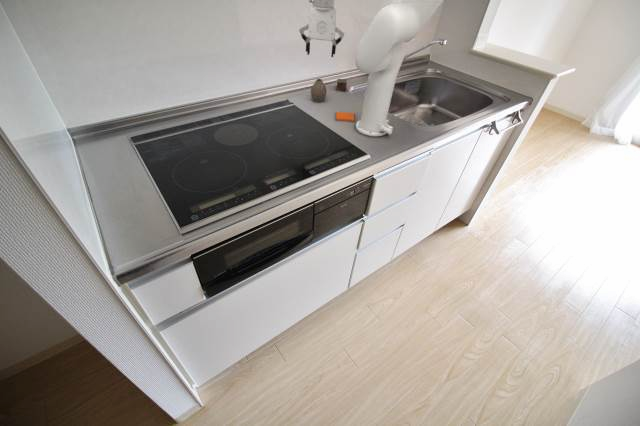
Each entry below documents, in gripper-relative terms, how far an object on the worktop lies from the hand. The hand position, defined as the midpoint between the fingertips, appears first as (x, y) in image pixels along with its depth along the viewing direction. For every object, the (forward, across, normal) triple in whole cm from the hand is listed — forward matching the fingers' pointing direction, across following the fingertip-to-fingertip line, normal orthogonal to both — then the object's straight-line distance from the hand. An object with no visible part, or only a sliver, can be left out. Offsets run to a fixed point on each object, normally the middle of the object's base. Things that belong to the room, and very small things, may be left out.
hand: (320, 54), depth 115 cm
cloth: (+18, +12, -15) cm, 27 cm away
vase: (+19, 0, 0) cm, 19 cm away
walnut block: (+18, +11, +15) cm, 26 cm away
